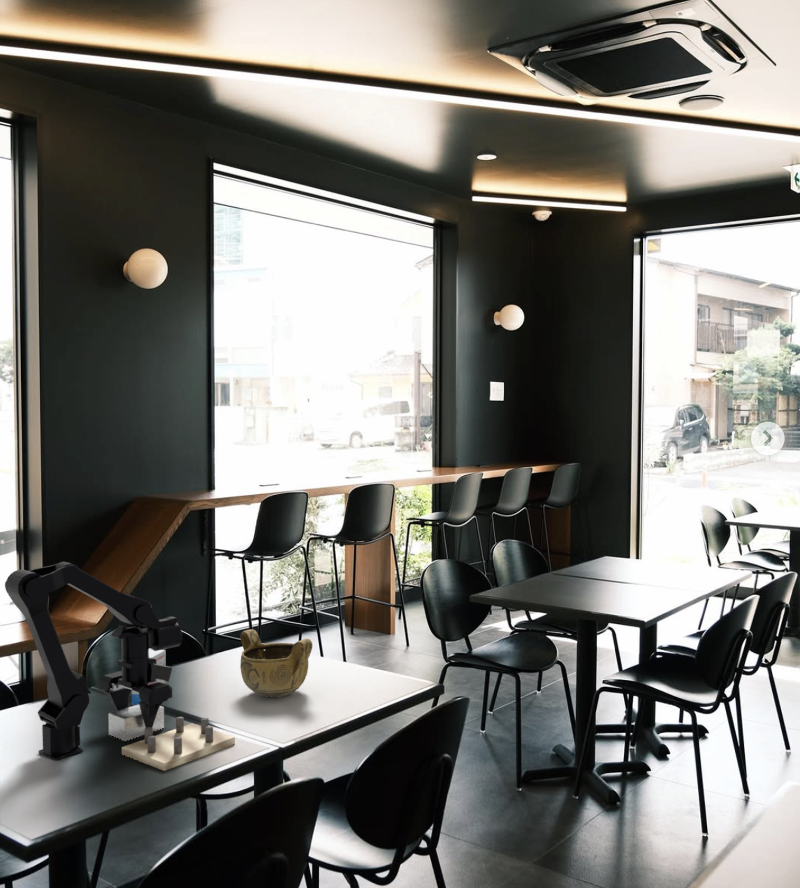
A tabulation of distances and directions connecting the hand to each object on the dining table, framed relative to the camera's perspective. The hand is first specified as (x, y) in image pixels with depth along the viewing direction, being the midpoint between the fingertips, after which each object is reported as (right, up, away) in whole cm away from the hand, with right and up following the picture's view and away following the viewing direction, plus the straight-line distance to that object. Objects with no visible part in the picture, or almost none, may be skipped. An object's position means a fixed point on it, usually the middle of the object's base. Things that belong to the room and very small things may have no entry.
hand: (136, 725), depth 197 cm
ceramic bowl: (+27, -1, +26) cm, 37 cm away
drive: (0, -2, 0) cm, 2 cm away
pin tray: (+12, -2, -11) cm, 16 cm away
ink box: (-3, -1, +22) cm, 22 cm away
